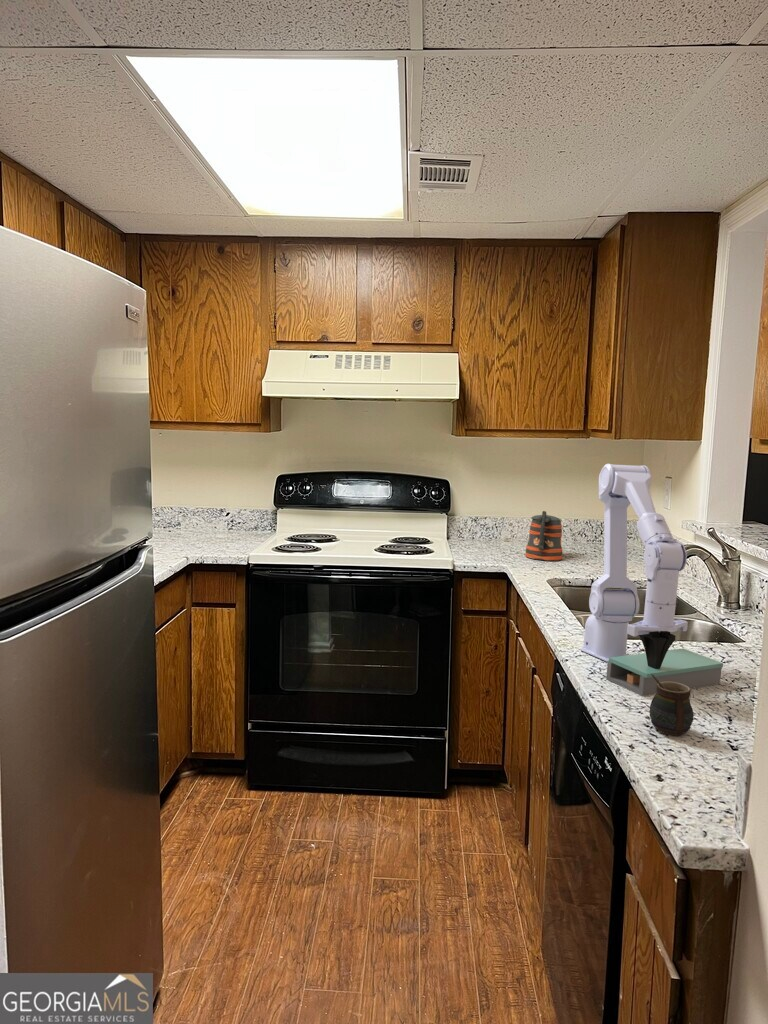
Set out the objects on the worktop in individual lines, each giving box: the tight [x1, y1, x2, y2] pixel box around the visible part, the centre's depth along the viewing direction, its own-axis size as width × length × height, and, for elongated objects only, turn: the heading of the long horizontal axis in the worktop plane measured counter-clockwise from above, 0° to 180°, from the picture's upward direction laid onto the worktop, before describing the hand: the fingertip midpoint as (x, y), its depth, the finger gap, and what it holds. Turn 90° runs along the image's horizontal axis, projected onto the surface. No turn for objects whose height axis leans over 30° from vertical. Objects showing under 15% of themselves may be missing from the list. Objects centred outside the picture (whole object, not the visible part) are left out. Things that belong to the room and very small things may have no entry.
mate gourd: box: [649, 674, 695, 737], centre depth 128 cm, size 7×8×10 cm
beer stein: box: [525, 510, 563, 562], centre depth 291 cm, size 19×15×20 cm
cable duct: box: [605, 662, 723, 697], centre depth 154 cm, size 11×22×4 cm, turn 116°
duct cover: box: [609, 648, 724, 678], centre depth 153 cm, size 10×22×1 cm, turn 116°
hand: (653, 667), depth 148 cm, fingers closed, pressing on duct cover
